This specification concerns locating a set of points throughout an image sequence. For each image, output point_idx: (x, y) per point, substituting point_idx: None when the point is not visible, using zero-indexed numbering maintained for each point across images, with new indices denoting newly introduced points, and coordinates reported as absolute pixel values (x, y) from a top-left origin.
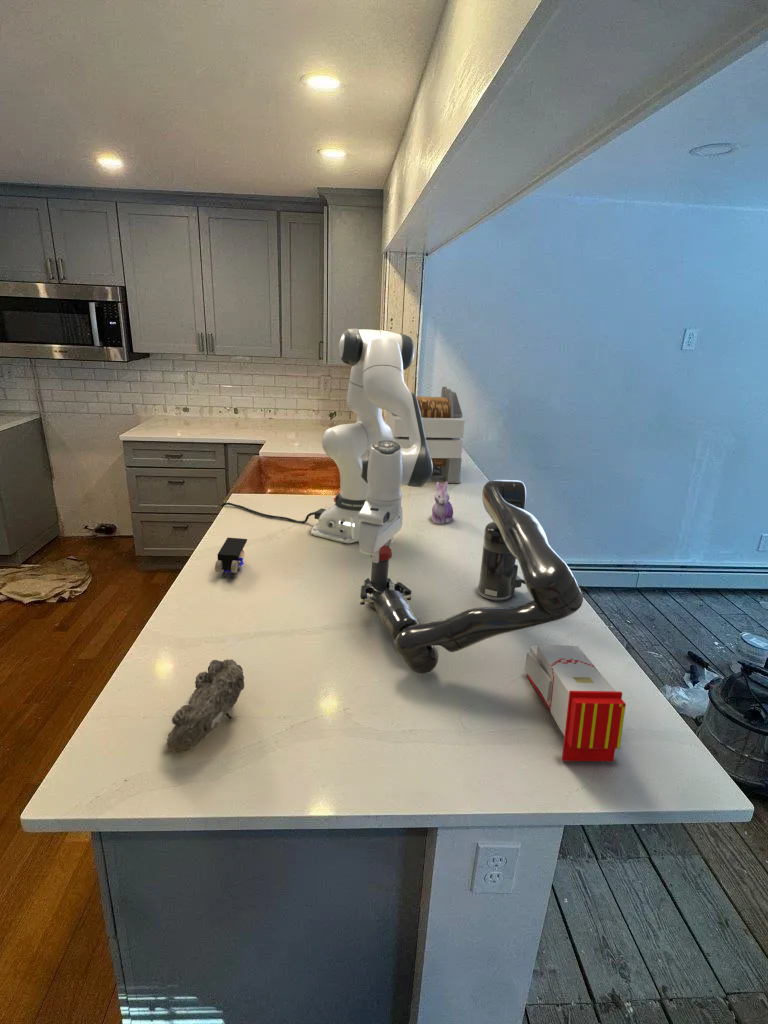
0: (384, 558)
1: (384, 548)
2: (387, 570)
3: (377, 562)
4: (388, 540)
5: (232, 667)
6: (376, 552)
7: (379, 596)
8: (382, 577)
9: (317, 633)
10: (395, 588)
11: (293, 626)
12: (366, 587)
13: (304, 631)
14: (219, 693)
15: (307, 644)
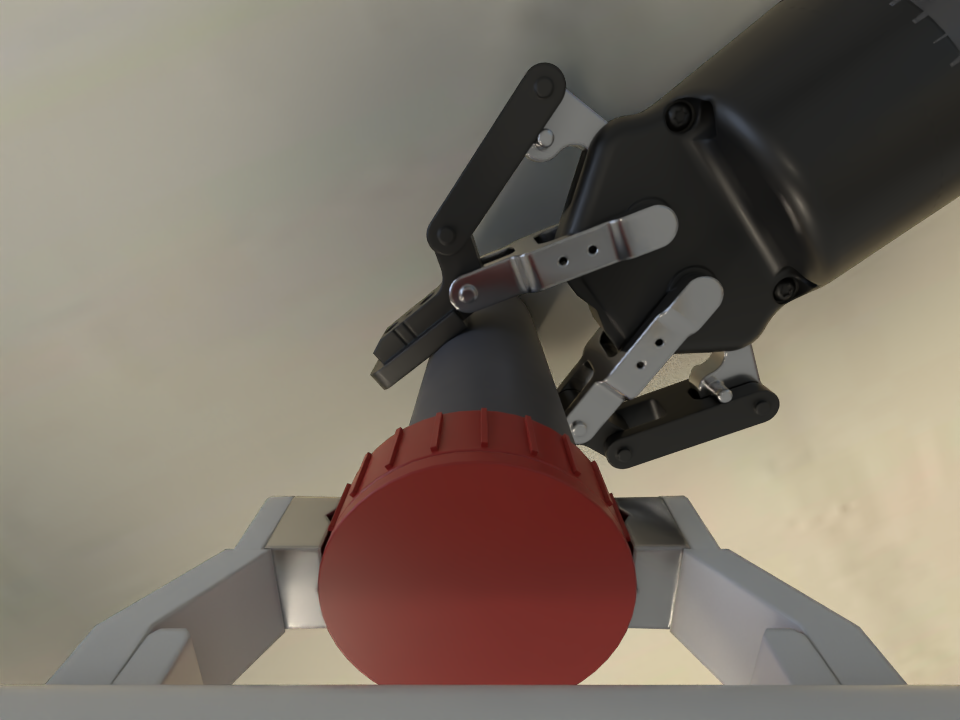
0: (588, 470)
1: (407, 584)
2: (491, 370)
3: (686, 501)
4: (457, 690)
5: None
6: (850, 639)
7: (841, 271)
8: (544, 374)
9: (853, 471)
10: (475, 248)
11: (820, 575)
12: (601, 434)
13: (850, 523)
14: None
15: (955, 467)
